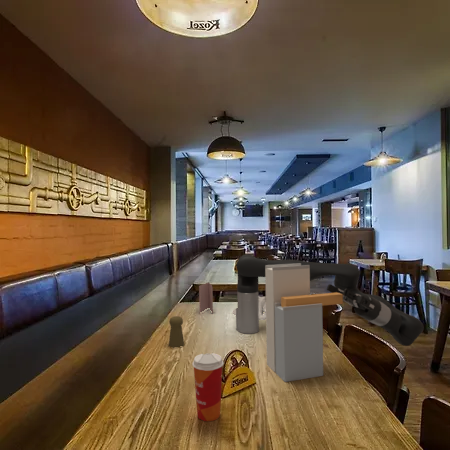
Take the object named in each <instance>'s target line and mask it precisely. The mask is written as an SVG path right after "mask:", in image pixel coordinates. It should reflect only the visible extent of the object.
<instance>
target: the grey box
mask: <svg viewBox="0 0 450 450" xmlns="http://www.w3.org/2000/svg"><path fill="white" fill-rule="evenodd" d="M323 329H324V328H323V306H322V304H310V305H300V306H289V307H281V303H275V342H276V372H275V374H276V375H277V376H278V377H279V378H280V380H282V381H283V382H284V383H286V382H294V381H299V380H305V379H310V378H312V379H313V378H317V377H323V376H324V344H323V343H324V339H323V337H324V336H323V333H324V332H323Z"/></svg>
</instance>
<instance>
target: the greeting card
mask: <svg viewBox="0 0 450 450" xmlns="http://www.w3.org/2000/svg"><path fill="white" fill-rule="evenodd" d="M198 291H199V293H198V295H199V296H198V298H199V301H198V302H199V313H200V312H202V311H204V310H205V309H207V308H210V310H211V311H212V313H213V314H214V306H213V304H214V303H213V299H214V298H213V293H214V292H213V285H212V284H211V283H210V282H207V283H203V284H201V285H199V286H198ZM210 310H209V311H210ZM212 313H211V314H212Z"/></svg>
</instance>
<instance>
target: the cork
mask: <svg viewBox="0 0 450 450" xmlns="http://www.w3.org/2000/svg"><path fill="white" fill-rule="evenodd" d="M183 323H184V320H183V317H181V316H177V315H176V316H172V317H170V318H169V325H170V331H169V340H168V341H169V342H168V347H169V346H171V347H180V346H183V345H184V346H185V340H184V332H183V327H182V325H183ZM184 346H183V347H184ZM171 347H170V348H171ZM180 348H181V347H180Z"/></svg>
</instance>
